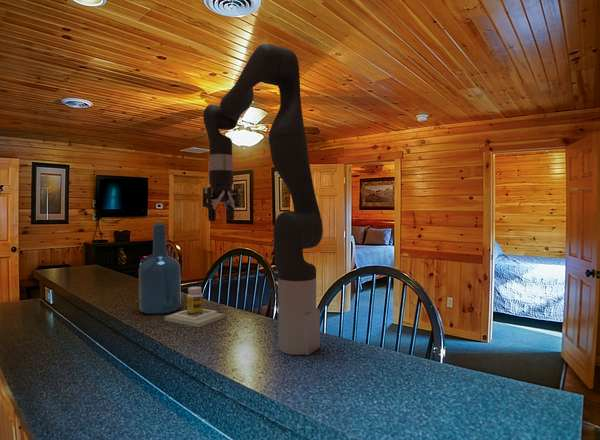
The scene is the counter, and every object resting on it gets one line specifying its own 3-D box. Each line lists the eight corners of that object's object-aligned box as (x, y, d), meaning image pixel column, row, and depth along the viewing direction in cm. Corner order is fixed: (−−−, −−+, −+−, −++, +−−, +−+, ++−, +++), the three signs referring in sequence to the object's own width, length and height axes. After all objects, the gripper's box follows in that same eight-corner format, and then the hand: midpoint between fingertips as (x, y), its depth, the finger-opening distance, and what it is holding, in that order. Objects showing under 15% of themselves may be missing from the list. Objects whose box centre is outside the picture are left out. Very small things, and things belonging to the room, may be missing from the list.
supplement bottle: (193, 317, 116) (193, 289, 115) (183, 315, 118) (183, 288, 118) (206, 314, 120) (205, 287, 119) (196, 312, 122) (195, 285, 122)
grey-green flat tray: (224, 317, 120) (224, 311, 120) (198, 327, 110) (198, 320, 110) (191, 312, 127) (191, 305, 127) (164, 320, 117) (164, 313, 117)
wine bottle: (163, 303, 139) (162, 220, 138) (189, 308, 132) (188, 220, 131) (129, 312, 127) (127, 221, 126) (156, 318, 120) (154, 221, 119)
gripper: (214, 167, 114) (215, 221, 115) (244, 171, 127) (245, 220, 127) (196, 168, 118) (196, 221, 118) (226, 172, 130) (227, 220, 131)
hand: (221, 221), depth 123 cm, fingers open, 8 cm apart
